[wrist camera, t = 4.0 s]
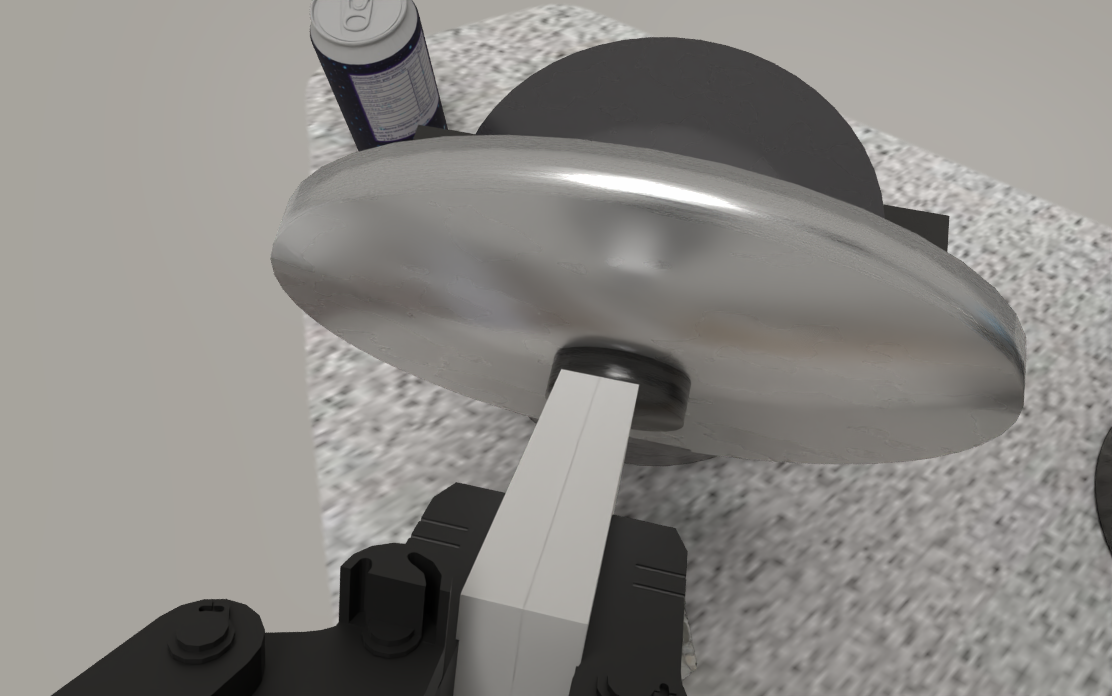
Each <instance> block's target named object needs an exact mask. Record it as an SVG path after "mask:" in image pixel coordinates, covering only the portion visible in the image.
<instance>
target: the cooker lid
mask: <svg viewBox="0 0 1112 696" xmlns="http://www.w3.org/2000/svg"><path fill="white" fill-rule="evenodd" d="M271 263H272V267H273V271H274V275H275V277H276V278H277V280H278V282H279V283H280V285H281V286H282V288H283V290H284V291H285V292H286V293H287V294H288V296H289V297H290V298H291V299H292V300H293V301H294V302H295V303H296V305H298V307H300V308H301V309H302V310H303V311H304V312H305V313H307V314H308V315H309V316H310V317H311V318H313V319H314V320H315V321H316V322H318V323H319V324H321V325H322V326H323V327H325V328H326V329H328V330H329V331H331V332H332V333H333V334H335V335H337V336H338V337H340V338H342V339H343V340H345V341H347V342H348V343H350V344H352V345H353V346H355V347H357V348H358V349H360V350H362V351H364V352H366V353H368V354H370V355H372V356H374V357H375V358H377V359H379V360H381V361H383V362H385V363H387V364H390V365H392V366H394V367H396V368H398V369H400V370H403V371H405V372H407V373H409V374H411V375H414V376H416V377H419V378H421V379H423V380H426V381H428V382H431V383H433V384H435V385H438V386H441V387H443V388H446V389H448V390H451V391H454V392H456V393H459V394H462V395H464V396H467V397H470V398H473V399H476V400H479V401H482V402H485V403H488V404H491V405H494V406H497V407H500V408H503V409H506V410H510V411H513V412H516V413H519V414H523V415H526V416H530V417H533V418H537V419H539V418H540V416H541V413H542V411H543V409H544V407H545V404H546V402H547V400H548V398H549V396H550V393H551V391H552V389H553V387H554V384H555V382H556V380H557V378H558V375H559V373H560V371H561V369H563V370H568V371H573V372H578V373H583V374H588V375H593V376H598V377H603V378H608V379H613V380H618V381H623V382H628V383H633V384H638V385H639V388H638V393H637V398H636V403H635V408H634V414H633V419H632V424H631V429H630V434H629V439H628V442H629V443H634V444H639V445H643V446H648V447H653V448H657V449H662V450H667V451H671V452H676V453H681V454H685V455H689V453H690V452H695V453H702V454H709V455H716V456H725V457H733V458H741V459H751V460H762V461H773V462H788V463H805V464H878V463H893V462H905V461H913V460H921V459H929V458H934V457H939V456H944V455H949V454H953V453H958V452H961V451H964V450H967V449H970V448H974V447H977V446H980V445H982V444H984V443H986V442H988V441H990V440H992V439H994V438H996V437H998V436H1000V435H1002V434H1003V433H1004V432H1005V431H1006V430H1007V429H1009V428H1010V427H1011V426H1012V425H1013V424H1014V423H1015V422H1016V421H1017V419H1018V417H1019V415H1020V413H1021V411H1022V409H1023V406H1024V389H1025V373H1026V336H1025V333H1024V331H1023V329H1022V326H1021V324H1020V322H1019V319H1018V317H1017V315H1016V313H1015V312H1014V311H1013V309H1012V308H1011V307H1010V306H1009V305H1008V303H1007V302H1006V301H1005V300H1004V299H1003V297H1002V296H1001V295H1000V294H999V292H998V291H997V290H996V289H995V288H994V287H993V286H992V285H990V284H989V283H988V282H987V281H986V280H984V279H983V278H982V277H981V276H979V275H978V274H977V273H976V272H975V271H973V270H972V269H971V268H970V267H968V266H967V265H966V264H965V263H964V262H962V261H961V260H959V259H957V258H956V257H954V256H952V255H951V254H949V253H947V252H946V251H944V250H943V249H941V248H939V247H938V246H936V245H934V244H933V243H931V242H929V241H928V240H926V239H924V238H923V237H921V236H920V235H918V234H916V233H914V232H911V231H909V230H907V229H905V228H903V227H901V226H899V225H897V224H894V223H892V222H890V221H888V220H886V219H884V218H882V217H880V216H877V215H875V214H873V213H871V212H869V211H867V210H865V209H863V208H860V207H857V206H855V205H852V204H849V203H846V202H844V201H841V200H838V199H835V198H833V197H830V196H827V195H825V194H822V193H819V192H816V191H814V190H811V189H808V188H805V187H803V186H800V185H797V184H794V183H790V182H787V181H783V180H780V179H776V178H773V177H769V176H765V175H762V174H758V173H755V172H751V171H748V170H744V169H741V168H737V167H734V166H730V165H726V164H722V163H717V162H713V161H708V160H703V159H698V158H693V157H688V156H683V155H679V154H674V153H669V152H664V151H659V150H654V149H649V148H642V147H634V146H627V145H619V144H612V143H604V142H597V141H589V140H582V139H571V138H554V137H537V136H520V135H478V136H444V137H436V138H428V139H420V140H412V141H404V142H396V143H391V144H387V145H383V146H379V147H375V148H371V149H367V150H363V151H359V152H355V153H352V154H350V155H347V156H345V157H343V158H341V159H338V160H336V161H334V162H331V163H329V164H327V165H325V166H322V167H321V168H320V169H318V170H317V171H316V172H314V173H313V174H312V175H310V176H309V177H308V178H306V179H305V180H304V181H302V182H301V183H300V185H299V186H298V188H297V189H296V191H295V192H294V193H293V195H292V196H291V198H290V199H289V202H288V205H287V208H286V210H285V213H284V216H283V219H282V221H281V224H280V227H279V230H278V232H277V235H276V238H275V241H274V244H273V249H272V254H271Z"/></svg>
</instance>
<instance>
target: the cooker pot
mask: <svg viewBox="0 0 1112 696" xmlns="http://www.w3.org/2000/svg"><path fill="white" fill-rule="evenodd" d="M478 135H520V136H537V137H554V138H571V139H582V140H589V141H597V142H604V143H612V144H619V145H627V146H634V147H642V148H649V149H654V150H659V151H664V152H669V153H674V154H679V155H683V156H688V157H693V158H698V159H703V160H708V161H713V162H717V163H722V164H726V165H730V166H734V167H737V168H741V169H744V170H748V171H751V172H755V173H758V174H762V175H765V176H769V177H773V178H776V179H780V180H783V181H787V182H790V183H794V184H797V185H800V186H803V187H805V188H808V189H811V190H814V191H816V192H819V193H822V194H825V195H827V196H830V197H833V198H835V199H838V200H841V201H844V202H846V203H849V204H852V205H855V206H857V207H860V208H863V209H865V210H867V211H869V212H871V213H873V214H875V215H877V216H880V217H882V218H884V219H886V220H888V221H890V222H892V223H894V224H897V225H899V226H901V227H903V228H905V229H907V230H909V231H911V232H914V233H916V234H918V235H920V236H921V237H923V238H924V239H926V240H928V241H929V242H931V243H933V244H934V245H936V246H938V247H939V248H941V249H943V250H944V251H946V252H947V248H948V230H949V216H947V215H941V214H935V213H929V212H924V211H918V210H912V209H906V208H900V207H895V206H889V205H883V201H882V194H881V190H880V187H879V184H878V180H877V177H876V174H875V170H874V168H873V166H872V164H871V162H870V159H869V157H868V155H867V153H866V151H865V149H864V147H863V145H862V144H861V142H860V141H859V139H858V137H857V136H856V134H855V133H854V131H853V130H852V128H851V127H850V125H849V124H848V123H847V122H846V121H845V120H844V118H843V117H842V116H841V115H840V114H839V112H838V111H837V110H836V109H835V108H834V107H833V106H832V105H831V104H830V103H829V102H828V101H827V100H826V99H824V98H823V97H822V96H821V95H820V94H819V93H818V92H817V91H816V90H815V89H813V88H812V87H810V86H809V85H808V84H806V83H805V82H804V81H802V80H801V79H799V78H798V77H797V76H795V75H793V74H792V73H790V72H788V71H786V70H785V69H783V68H781V67H779V66H778V65H775V64H774V63H772V62H770V61H767V60H765V59H763V58H761V57H758V56H756V55H754V54H751V53H749V52H746V51H742V50H739V49H736V48H733V47H730V46H726V45H722V44H717V43H712V42H707V41H703V40H695V39H685V38H675V37H648V38H638V39H629V40H621V41H617V42H612V43H607V44H602V45H598V46H595V47H592V48H589V49H586V50H582V51H579V52H576V53H574V54H571V55H569V56H567V57H565V58H562V59H560V60H558V61H556V62H554V63H552V64H550V65H548V66H547V67H545V68H543V69H541V70H540V71H538V72H536V73H535V74H533V75H531V76H530V77H529V78H527V79H526V80H525V81H524V82H522V83H521V84H520V85H518V86H517V87H516V88H514V89H513V90H512V91H511V92H510V93H509V94H508V95H507V96H506V97H505V98H504V99H503V100H502V101H501V102H500V103H499V104H498V105H497V106H496V107H495V108H494V109H493V110H492V112H491V113H490V114H489V115H488V117H487V118H486V119H485V120H484V122H483V123H482V124H481V126H480V127H479V129H478V131H477V133H476V134H470V133H464V132H459V131H453V130H447V129H441V128H435V127H429V126H424V125H418V127H417V130H416V133H415V135H414V138H413V140H420V139H428V138H436V137H444V136H478ZM529 417H530V416H529ZM530 419H532V420H533V421H534V422H535V423H537V422H538V420H539V419H537V418H533V417H530ZM713 457H716V455H709V454H702V453H695V452H690V453H689V455H685V454H681V453H676V452H671V451H667V450H662V449H657V448H653V447H648V446H643V445H639V444H634V443H629V442H628V445H627V450H626V455H625V460H624V463H627V464H633V465H641V466H669V465H679V464H688V463H693V462H697V461H701V460H705V459H709V458H713Z"/></svg>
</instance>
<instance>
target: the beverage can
mask: <svg viewBox="0 0 1112 696" xmlns="http://www.w3.org/2000/svg"><path fill="white" fill-rule="evenodd" d="M310 19H311V25H310V38H311V41H312V44H313V46H314V49H315V51H316V53H317V55H318V58H319V60H320V63H321V65H322V67H323V70H324V72H325V74H326V77H327V79H328V81H329V83H330V86H331V88H332V90H333V93H334V95H335V97H336V100H337V102H338V104H339V107H340V109H341V111H342V114H343V116H344V118H345V121H346V123H347V125H348V128H349V130H350V132H351V134H352V137H353V139H354V141H355V144H356V146H357V148H358V151H363V150H367V149H371V148H375V147H379V146H383V145H387V144H391V143H396V142H404V141H412V140H413V138H414V135H415V133H416V130H417V127H418V125H424V126H429V127H435V128H441V129H447V130H448V128H447V124H446V120H445V116H444V112H443V108H442V104H441V100H440V96H439V93H438V89H437V85H436V81H435V77H434V73H433V69H432V65H431V61H430V57H429V53H428V49H427V45H426V41H425V37H424V33H423V29H422V25H421V21H420V17H419V13H418V10H417V8H416V6H415V4H414V2H413V1H412V0H312V2H311V6H310Z"/></svg>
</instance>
